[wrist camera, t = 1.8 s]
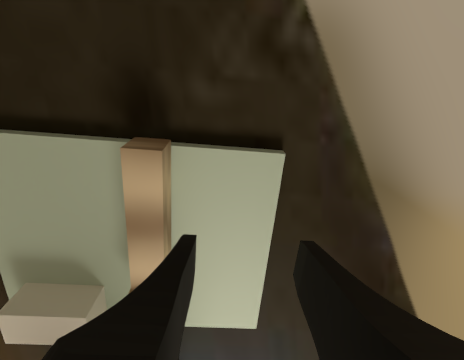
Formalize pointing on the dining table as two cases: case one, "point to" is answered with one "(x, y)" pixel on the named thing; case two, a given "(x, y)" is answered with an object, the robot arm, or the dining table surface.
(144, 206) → the leg
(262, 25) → the dining table surface
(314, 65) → the dining table surface
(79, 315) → the block
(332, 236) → the dining table surface
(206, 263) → the board
